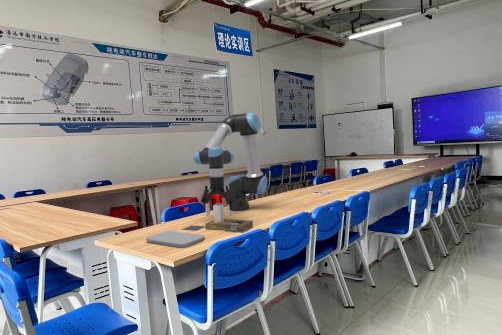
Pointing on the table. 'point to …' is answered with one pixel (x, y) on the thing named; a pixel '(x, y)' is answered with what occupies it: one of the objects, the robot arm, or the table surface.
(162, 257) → the table surface
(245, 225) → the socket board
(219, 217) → the grey upright block
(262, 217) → the table surface
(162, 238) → the tablet
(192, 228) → the mat
